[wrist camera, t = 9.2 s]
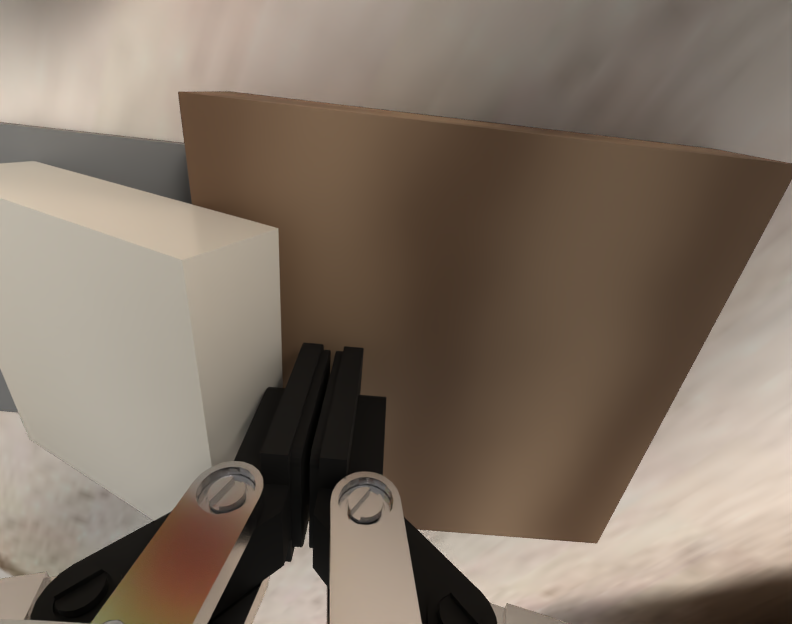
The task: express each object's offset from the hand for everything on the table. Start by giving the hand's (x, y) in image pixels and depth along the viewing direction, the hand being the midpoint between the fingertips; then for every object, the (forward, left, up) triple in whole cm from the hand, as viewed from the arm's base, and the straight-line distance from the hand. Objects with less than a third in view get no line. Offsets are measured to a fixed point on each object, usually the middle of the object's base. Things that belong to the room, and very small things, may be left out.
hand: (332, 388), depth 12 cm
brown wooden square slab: (-3, 0, -4) cm, 5 cm away
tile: (+5, 0, -2) cm, 6 cm away
